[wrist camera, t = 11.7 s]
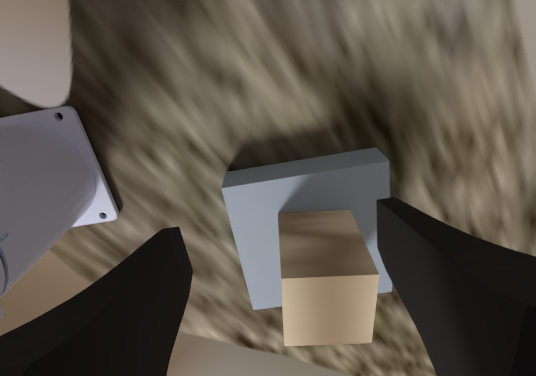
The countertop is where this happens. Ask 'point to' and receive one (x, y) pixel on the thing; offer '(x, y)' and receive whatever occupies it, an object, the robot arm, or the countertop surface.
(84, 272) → the countertop surface
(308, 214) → the maple cube
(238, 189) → the slate-blue block
